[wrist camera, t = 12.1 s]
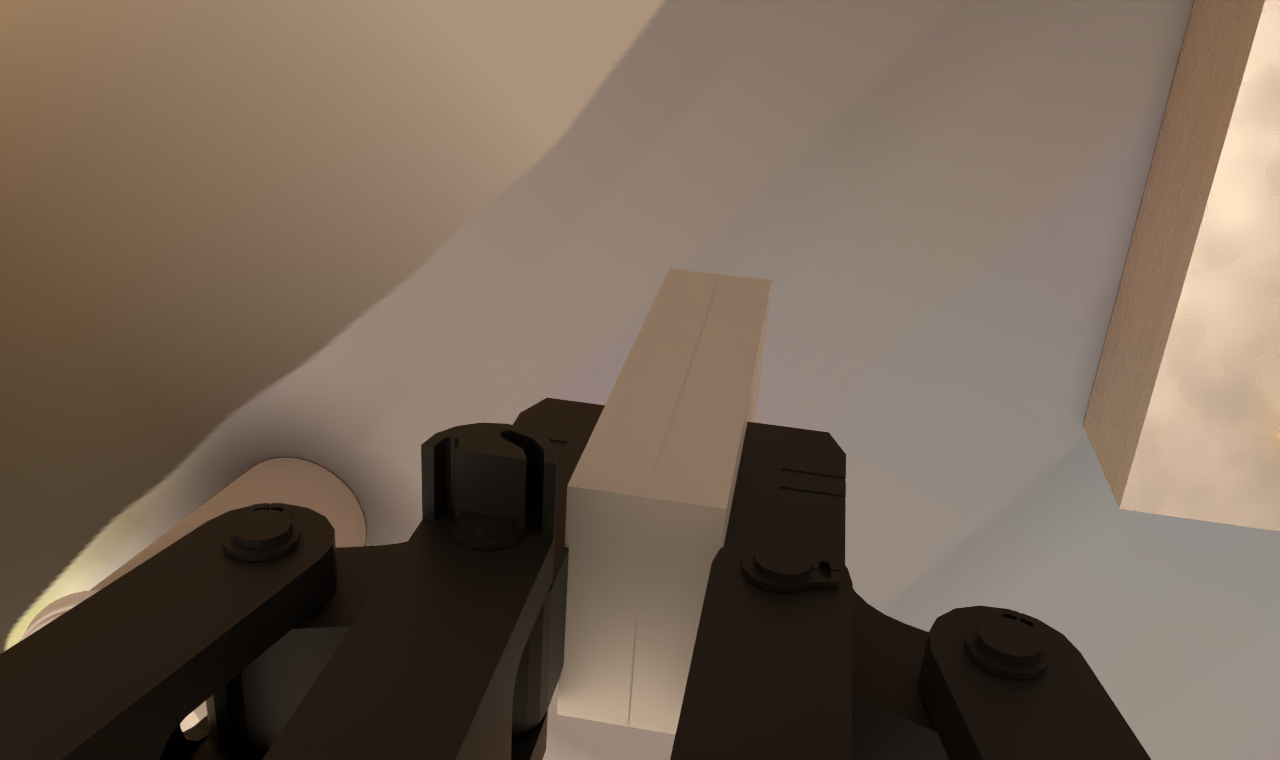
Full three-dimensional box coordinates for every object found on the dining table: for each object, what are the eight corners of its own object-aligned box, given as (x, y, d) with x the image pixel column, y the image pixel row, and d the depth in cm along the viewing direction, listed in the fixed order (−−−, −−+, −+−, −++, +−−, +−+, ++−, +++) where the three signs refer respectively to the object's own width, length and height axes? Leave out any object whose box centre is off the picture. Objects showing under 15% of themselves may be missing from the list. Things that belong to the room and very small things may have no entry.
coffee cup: (289, 632, 55) (107, 877, 41) (164, 480, 52) (-74, 687, 39) (438, 558, 52) (292, 797, 38) (312, 392, 49) (108, 584, 36)
